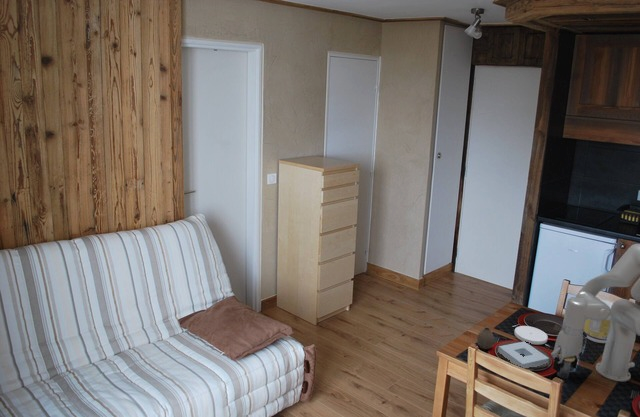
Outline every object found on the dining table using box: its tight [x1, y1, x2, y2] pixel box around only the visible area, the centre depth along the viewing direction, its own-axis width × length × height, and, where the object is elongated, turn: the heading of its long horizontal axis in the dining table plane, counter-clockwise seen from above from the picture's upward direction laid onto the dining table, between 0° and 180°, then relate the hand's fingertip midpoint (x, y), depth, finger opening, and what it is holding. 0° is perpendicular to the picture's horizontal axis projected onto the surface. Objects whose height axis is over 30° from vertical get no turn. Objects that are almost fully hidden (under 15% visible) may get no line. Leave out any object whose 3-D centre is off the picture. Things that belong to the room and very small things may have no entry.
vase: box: [476, 327, 495, 350], centre depth 231 cm, size 7×7×9 cm
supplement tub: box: [583, 298, 614, 344], centre depth 245 cm, size 12×12×17 cm
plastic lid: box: [514, 325, 549, 346], centre depth 243 cm, size 14×14×2 cm
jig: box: [497, 341, 550, 368], centre depth 223 cm, size 14×14×4 cm
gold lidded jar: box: [557, 353, 575, 380], centre depth 213 cm, size 6×6×9 cm
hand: (564, 368), depth 213 cm, fingers open, 7 cm apart
